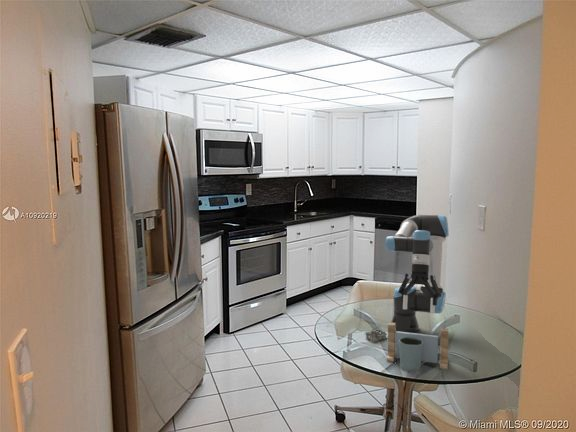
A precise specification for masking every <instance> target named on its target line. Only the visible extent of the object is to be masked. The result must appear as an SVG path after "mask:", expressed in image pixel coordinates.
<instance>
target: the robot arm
mask: <svg viewBox="0 0 576 432" xmlns="http://www.w3.org/2000/svg"><path fill="white" fill-rule="evenodd" d="M448 224H449V223H448V218H447V217H446V216H445V215H439V214H436V215H435V214H434V215H431V214H429V215H428V214H417V215H412V216H410V217H407V218H406V219H404V220H403V221H402V222H401V224H400V227H399V229H398V231H397V232H396V233H395V234H394V235H390V236H386V238H385V245H384V246H385V250H386V251H388V252H393V253H394V252H396V253H397V252H398V253H400V252H401V253H412V257H411V258H412V260H411V262H412V264H411V274H410V273H405V275H404V279H403V281H402V283H401V285H400V286H398V287H396V288H395V289H394V291H393V315H392V318H391V323H396V331H399V332H408V333H417V332H418V331H419V329H420V328H419V327H420V325H419V321H418V319H417V316H416V313H417V312H419V313H426V314H427V313H428V314H442V313H443V311H444V308H445V303H446V296H447V295H446V292H445V291H444V289H443V287H442V286H441V279H442V276H441V275H442V274H441V273H442V261H443V260H442V257H443V256H442V255H443V243H444V242H445V241H446V238H447V237H449V235H450V234H449V225H448ZM409 281H410V282H409ZM415 285H420V289H417V288H416V287H417V286H415Z"/></svg>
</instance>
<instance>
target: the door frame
mask: <svg viewBox="0 0 576 432" xmlns="http://www.w3.org/2000/svg"><path fill="white" fill-rule="evenodd" d="M395 360H396V323H391V322H390V321H389V322H388V324H387V356H386V362H391V363H394V361H395ZM439 362H440V363H439V368H440V369H442V370H448V366H449V328H445V327H441V328H440V361H439Z"/></svg>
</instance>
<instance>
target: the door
mask: <svg viewBox="0 0 576 432" xmlns="http://www.w3.org/2000/svg"><path fill="white" fill-rule="evenodd" d="M402 337H414V338H418V339H420V340H422V341H423V348H422V353H421V354H422V356H421V362H426V363H434V364H438V363H439V362H440V359H441V353H439V346H441V337H439V336H438V335H434V334H426V333H425V334H424V333H417V332H412V333H408V332H399V331H396V356H395V359H400V348H399V339H400V338H402Z"/></svg>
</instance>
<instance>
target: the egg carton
mask: <svg viewBox="0 0 576 432" xmlns="http://www.w3.org/2000/svg"><path fill="white" fill-rule="evenodd" d="M376 331H378V332H376ZM379 332H381V334H380V333H379ZM364 335H365V339H366V340H367V341H370V342H373V343H374V342H378V341H381V340H382V339H384V340H386V337H387V336H388V332H387V333H386V331H384V330H382V329H380V328H379V327H378V328H376V329H374V330H373V329H372V330H369V331H365V332H364Z"/></svg>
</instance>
